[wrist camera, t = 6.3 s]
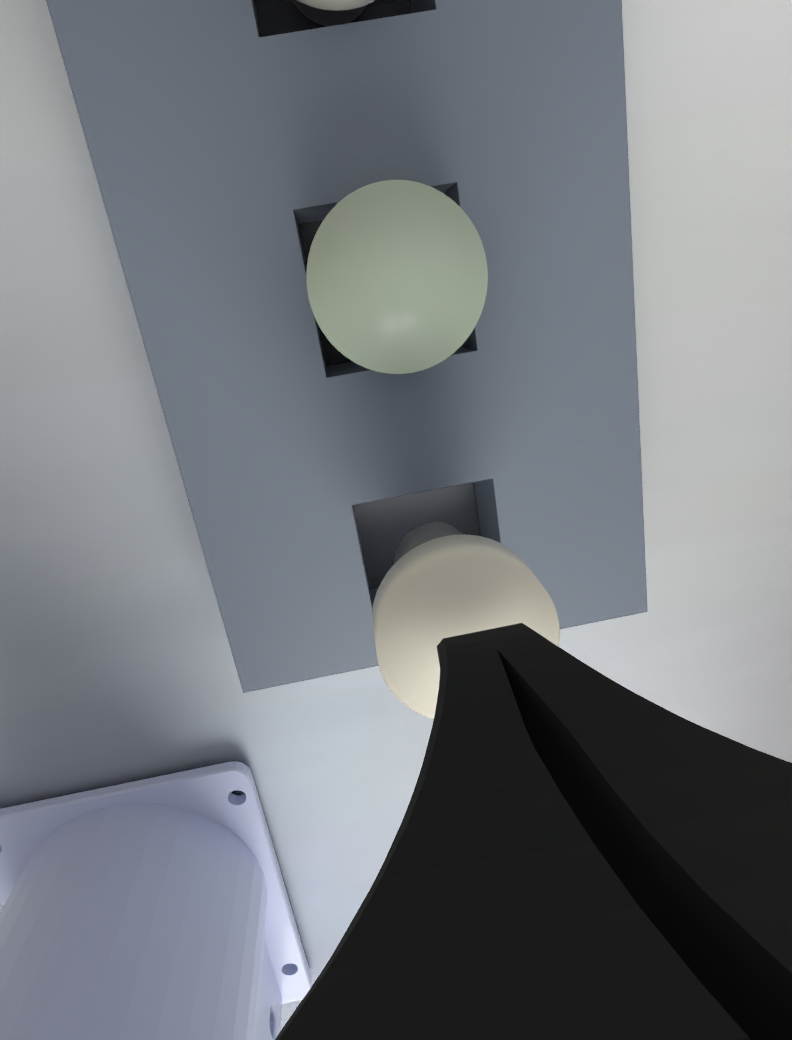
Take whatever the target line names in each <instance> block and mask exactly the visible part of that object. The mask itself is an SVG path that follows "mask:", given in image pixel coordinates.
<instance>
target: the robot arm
mask: <svg viewBox="0 0 792 1040" xmlns="http://www.w3.org/2000/svg"><path fill="white" fill-rule="evenodd" d="M437 652H438V658H439V664H440V680H439V691H438V697H437V704H436V710H435V716H434V722H433V726H432V730H431V734H430V738H429V742H428V746H427V750H426V754H425V757H424V761H423V765H422V768H421V771H420V774H419V777H418V780H417V784H416V786H415V789H414V792H413V795H412V798H411V800H410V803H409V805H408V808H407V811H406V813H405V816H404V818H403V821H402V823H401V826H400V828H399V830H398V832H397V834H396V837H395V839H394V841H393V843H392V846H391V848H390V850H389V852H388V854H387V857H386V859H385V861H384V863H383V865H382V867H381V869H380V871H379V873H378V875H377V877H376V879H375V881H374V883H373V885H372V887H371V889H370V891H369V892H368V894H367V896H366V898H365V899H364V901H363V903H362V905H361V906H360V908H359V910H358V912H357V913H356V915H355V917H354V919H353V920H352V922H351V924H350V925H349V927H348V929H347V931H346V932H345V934H344V936H343V938H342V939H341V941H340V943H339V945H338V946H337V948H336V950H335V952H334V953H333V955H332V956H331V958H330V960H329V961H328V963H327V964H326V966H325V967H324V969H323V971H322V972H321V974H320V975H319V977H318V978H317V980H316V981H315V983H314V984H313V985H312V977H311V973H310V970H309V967H308V963H307V960H306V956H305V953H304V950H303V946H302V943H301V939H300V936H299V933H298V929H297V926H296V922H295V919H294V916H293V912H292V909H291V905H290V902H289V898H288V895H287V892H286V888H285V885H284V881H283V878H282V875H281V871H280V868H279V864H278V861H277V858H276V854H275V851H274V847H273V844H272V841H271V837H270V834H269V830H268V827H267V824H266V820H265V817H264V813H263V810H262V807H261V803H260V800H259V796H258V793H257V790H256V786H255V783H254V779H253V776H252V772H251V771H250V769H249V767H248V766H246V765H245V764H244V763H241V762H237V761H233V762H226V763H221V764H216V765H211V766H206V767H201V768H197V769H192V770H187V771H182V772H177V773H172V774H167V775H162V776H158V777H153V778H148V779H143V780H138V781H133V782H128V783H123V784H119V785H114V786H109V787H104V788H99V789H94V790H89V791H84V792H80V793H75V794H70V795H65V796H60V797H55V798H50V799H45V800H41V801H36V802H31V803H26V804H21V805H16V806H11V807H6V808H2V809H0V903H1V905H2V907H3V908H2V910H1V912H0V1040H792V763H790V762H787V761H784V760H781V759H779V758H776V757H774V756H771V755H768V754H766V753H763V752H760V751H758V750H755V749H753V748H750V747H748V746H745V745H743V744H741V743H738V742H736V741H734V740H731V739H729V738H727V737H724V736H722V735H720V734H717V733H715V732H713V731H710V730H708V729H706V728H703V727H701V726H699V725H697V724H695V723H692V722H690V721H688V720H686V719H684V718H682V717H680V716H678V715H676V714H674V713H672V712H670V711H668V710H666V709H664V708H662V707H660V706H658V705H656V704H654V703H653V702H651V701H649V700H647V699H645V698H643V697H641V696H639V695H637V694H635V693H634V692H632V691H630V690H628V689H626V688H625V687H623V686H621V685H619V684H618V683H616V682H614V681H612V680H611V679H609V678H607V677H606V676H604V675H602V674H601V673H599V672H597V671H596V670H594V669H592V668H591V667H589V666H588V665H586V664H584V663H583V662H581V661H580V660H578V659H576V658H575V657H573V656H572V655H570V654H569V653H567V652H566V651H564V650H563V649H561V648H559V647H558V646H556V645H555V644H553V643H552V642H550V641H549V640H547V639H546V638H544V637H543V636H541V635H540V634H538V633H537V632H535V631H534V630H532V629H531V628H529V627H528V626H526V625H525V624H523V623H518V624H513V625H508V626H503V627H498V628H493V629H488V630H483V631H478V632H473V633H468V634H463V635H458V636H453V637H448V638H443V639H442V640H441V642H440V643H439V644H438V645H437ZM234 790H240V791H242V792H244V793H245V794H243V795H234V794H232V793H231V792H232V791H234ZM288 963H292V964H288ZM302 999H303V1000H302ZM299 1000H302V1001H301V1003H300V1004H299V1006H298V1007H297V1008H296V1010H295V1011H294V1013H293V1014H292V1016H291V1017H290V1019H289V1020H288V1021H287V1023H286V1024H285V1026H284V1027H283V1029H282V1030H281V1032H280V1027H281V1010H282V1004H285V1003H290V1002H294V1001H299Z"/></svg>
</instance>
